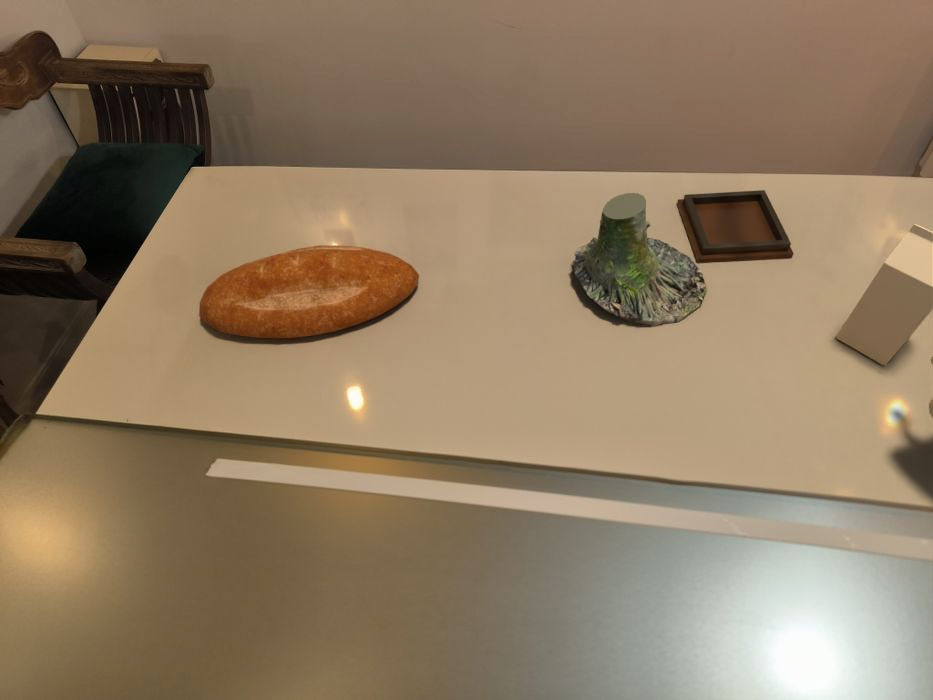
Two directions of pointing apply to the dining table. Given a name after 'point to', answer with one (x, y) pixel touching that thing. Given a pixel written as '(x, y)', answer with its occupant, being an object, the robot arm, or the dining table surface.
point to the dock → (733, 227)
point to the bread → (306, 292)
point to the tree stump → (637, 268)
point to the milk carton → (894, 299)
